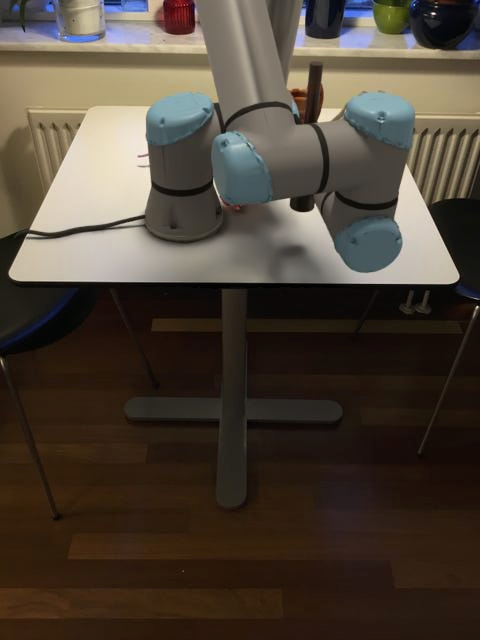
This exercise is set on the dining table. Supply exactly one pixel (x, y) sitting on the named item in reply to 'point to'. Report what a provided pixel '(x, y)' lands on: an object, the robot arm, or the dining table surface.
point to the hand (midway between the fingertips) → (301, 121)
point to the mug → (300, 101)
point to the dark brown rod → (311, 116)
